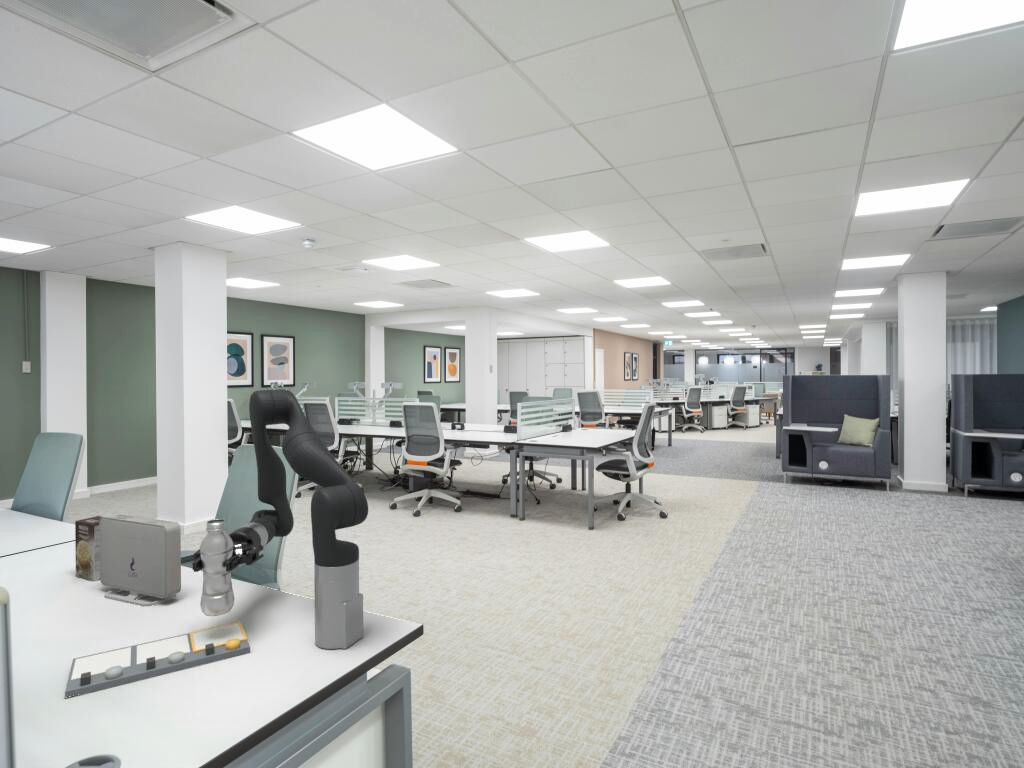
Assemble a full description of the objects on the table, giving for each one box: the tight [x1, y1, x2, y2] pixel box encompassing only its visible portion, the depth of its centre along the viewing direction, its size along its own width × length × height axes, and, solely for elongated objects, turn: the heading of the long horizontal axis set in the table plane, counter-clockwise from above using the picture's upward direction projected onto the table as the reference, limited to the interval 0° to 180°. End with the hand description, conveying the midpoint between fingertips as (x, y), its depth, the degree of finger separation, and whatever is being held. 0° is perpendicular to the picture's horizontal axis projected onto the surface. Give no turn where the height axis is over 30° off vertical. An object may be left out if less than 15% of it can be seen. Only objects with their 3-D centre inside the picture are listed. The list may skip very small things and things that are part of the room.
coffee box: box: [74, 515, 103, 582], centre depth 161 cm, size 9×6×16 cm
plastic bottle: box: [199, 518, 235, 617], centre depth 120 cm, size 6×7×20 cm
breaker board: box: [64, 621, 251, 698], centre depth 113 cm, size 30×14×3 cm, turn 123°
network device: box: [99, 513, 182, 607], centre depth 146 cm, size 26×9×20 cm, turn 68°
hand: (211, 567), depth 118 cm, fingers closed on plastic bottle, 6 cm apart
